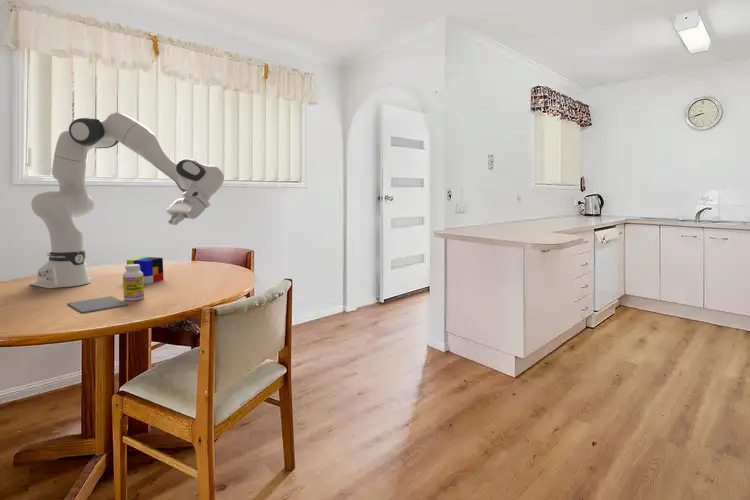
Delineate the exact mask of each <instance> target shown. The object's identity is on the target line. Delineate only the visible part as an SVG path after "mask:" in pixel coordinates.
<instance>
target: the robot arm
mask: <svg viewBox="0 0 750 500" xmlns="http://www.w3.org/2000/svg"><path fill="white" fill-rule="evenodd" d="M119 143H121V144H122V145H123V146H125V147H126V148H128V149H129V150H131V151H132V152H134V153H135V154H137V155H139V156H140V157H141V158H143V159H144V160H145V161H147V162H149V163H150V164H151V165H152V166H154V167H155V168H156V169H158V170H159V171H160V172H162V173H163V174H164V175H166V176H167V177H168V178H170V179H171V180H172V181H174V182H175V183H176V185H177V187H178V189H179V190H180V191H181V192H183V193H182V198H178V199H176V200H175V201H174V202H173V203H172V204H170V205H169V206H168V207H167V209H166V213H167V214H168V215H169V216H170V219H169V220H168V221H167V223H168V224H169V225H173V226H177V225H178V224H179V223H181V222H182V221H184V219H189V220H190V219H191V220H195V219H196V218H198V217H199V216H200V215H201V214H202V213H204V211H205V210H206V209H207V208H209V207H210V206H211V203H210V202H209V201H210V199H211V197H212V196H213V195H214V194H216V193H217V191H219V189H220V188H221V186H222V185H223V183H224V182H225V177H224V174H223V172H222V171H221V169H220V168H219V167H218V166H215V165H213V164H212V165H210V164H209V165H207V164H203V163H201V162H198V161H196V159H193V158H182V159H181V160H179V161H178V162H177V163H176V162H175V161H173V160H172V159H171V158H169V157H168V156H167V155H166V154H165V152H164V151H163V149H162V146H161V145H160V143H159V140H158V138H157V137H156V135H155V133H153V132H152V131H151V130H150V129H149V128H148V127H147V126H145V125H144V124H142V123H140V122H139V121H137V120H136V119H135V118H132V117H130V116H129V115H126V114H125V113H121V112H112V113H111V114H109V115H108V116H107V117H106V118H105V120H101V119H97V118H88V117H81V118H76V119H74V120H72V121H71V122H70V124H69V126H68V130H65V131H62V132H61V133H59V137H58V139H57V142H56V145H55V147H54V148H55V149H54V154H53V160H52V169H51V175H52V177H53V178H54V179H55V180H57V183H58V185H59V190H58V191H57V190H56V191H54V190H53V191H46V192H40V193H38V194H35V196H33V197H32V199H31V204H30V206H31V210H32V212H33V213H34V214H35V215H36V216H37V217H39V218H40V220H42V221H43V223H44V224H45V226H46V228H47V230H48V234H49V239H50V247H51V251H50V252H47V253H46V254H47V255H46V256H47V257H48V261H47V262H46V263H44V264H43V265H42V266H41V267H40V268H39V269H37V272H36V273H37V274H36V278H37V279H36V280H32V281H30V285H31V286H36V287H41V288H46V289H57V288H69V287H79V286H82V285H87V284H90V283H91V280H92V277H90V273H89V269H88V264H87V262H86V260H85V259H86V257H87V256H86V250H85V249H84V239H83V238H84V236H83V232H82V230H81V229H79V228H78V227H77V226H76V225H75V223H74V221H73V218H80V217H83V216H86V215H88V214H89V215H90V213H92V211H93V210H94V206H95V204H94V203H95V202H94V199H93V198H92V196H91V195H89V193H88V190H87V187H86V172H87V171H86V170H87V163H88V158H89V157H88V156H89V152H90V150H91V149H93V148H94V149H108V148H112V147H115V146H117V145H118V144H119Z"/></svg>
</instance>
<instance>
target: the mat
mask: <svg viewBox="0 0 750 500" xmlns="http://www.w3.org/2000/svg"><path fill="white" fill-rule="evenodd" d="M67 305H68V306H70V307H71V308H72V309H74V310H76V311H78V312H79V313H81V314H86V313H93V312H96V311H98V312H99V311H104V310H108V309H114V308H121V307H122V308H123V307H127V306H129V303H127V302H125V301H123V300H120V299H118V298H116V297H114V296H112V295H110V296H104V297H99V298H92V299H86V300H77V301H73V302H72V301H71V302H67Z"/></svg>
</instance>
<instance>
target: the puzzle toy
mask: <svg viewBox="0 0 750 500" xmlns="http://www.w3.org/2000/svg"><path fill="white" fill-rule="evenodd" d="M129 264H139V265H140V269H139V271H141V272H142V273H143V281H144V285H149V284H153V283H156V281H157V282H159V281H163V280H164V278H165V277H164V261H163V257H154V256H153V257H151V256H141V257H136V258H130V259H126V265H129Z"/></svg>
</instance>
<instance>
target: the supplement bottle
mask: <svg viewBox="0 0 750 500" xmlns="http://www.w3.org/2000/svg"><path fill="white" fill-rule="evenodd" d="M124 268H125V272H123V274H122V287H123V289H122V290H123V299H124V300H125V301H129V302H131V301H132V302H134V301H140V300H143V299H144V298H145V286H144V285H145V284H144V281H143V273H142V272H141V271H139V269H140V265H139V264H129V265H127V264H125V266H124Z"/></svg>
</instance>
